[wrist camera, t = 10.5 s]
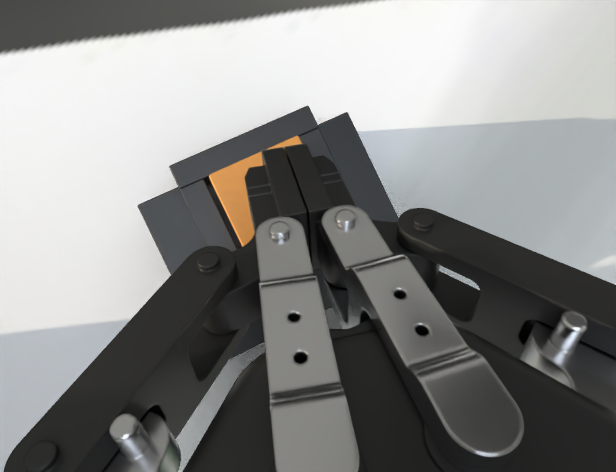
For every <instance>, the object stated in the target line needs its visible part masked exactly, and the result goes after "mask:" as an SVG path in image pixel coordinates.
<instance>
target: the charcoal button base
mask: <svg viewBox="0 0 616 472" xmlns="http://www.w3.org/2000/svg"><path fill="white" fill-rule="evenodd" d="M295 136H299V138H300V140H301V142H302V144H303V143H306V144H307V146H308V148H309V151H310V153H311V155H312V157H316V156H322V155H324V156H325V157H327V158H328V159H329V160H331V161H332V162H334V164H335V166H336V168H337V170H338V173H339V174H340V176H341V178H342V181H343V182H344V184H345V186H346V188H347V190H348V192H349V194H350V196H351V198H352V200H353V202H354V204H355V206H356V207H358V208H361V209H362V210H364V211H365V212H366V213H367V214H368V216H369V217H370V219H373V220H377V221H389V222H398V220H399V218H398V216H397V214H396V212H395V210H394V208H393V206H392V204H391V202H390V200H389V198H388V196H387V194H386V191H385V189H384V187H383V185H382V183H381V181H380V179H379V177H378V175H377V173H376V171H375V169H374V166H373V164H372V162H371V160H370V158H369V156H368V154H367V152H366V150H365V148H364V146H363V144H362V141H361V139H360V137H359V135H358V133H357V131H356V129H355V127H354V125H353V123H352V121H351V119H350V116H349V114H348V113H347V112H346V113H344V114H341V115H339V116H337V117H335V118H332V119H330V120H328V121H326V122H323V123H321V124H319V125H317V122H316V120H315V118H314V116H313V114H312V112H311V110H310V108H309V106H306V107H303V108H301V109H299V110H296V111H294V112H292V113H290V114H287V115H285V116H283V117H280V118H278V119H276V120H273V121H271V122H269V123H267V124H264V125H262V126H260V127H257V128H255V129H253V130H251V131H248V132H246V133H244V134H241V135H239V136H237V137H234V138H232V139H230V140H228V141H225V142H223V143H221V144H218V145H216V146H214V147H212V148H209V149H207V150H205V151H202V152H200V153H198V154H196V155H193V156H191V157H189V158H186V159H184V160H182V161H179V162H177V163H175V164H173V165H170V166H169V168H170V170H171V172H172V174H173V176H174V178H175V180H176V183H177V185H178V187H177V188H175V189H173V190H171V191H168V192H166V193H164V194H162V195H159V196H157V197H155V198H153V199H150V200H148V201H146V202H144V203H141V204H139V205H138V208H139V210H140V212H141V214H142V216H143V218H144V220H145V222H146V224H147V227H148V229H149V231H150V233H151V235H152V237H153V239H154V241H155V243H156V245H157V247H158V249H159V251H160V253H161V255H162V257H163V260H164V262H165V264H166V266H167V268H168V270H169V272H170V274H171V275H172V274H173V273H174V272H175V271H176V270H177V268H178V267H179V266H180V265H181V264H182V263H183V262H184V261H185V260H186V258H187V257H188V256H189V255H190V254H192V253H193V252H194V251H196V250H198V249H201V248H203V247H207V246H221V247H225V248H227V249H229V250H230V251H231V252H233V251H235V250H237V249H239V248H241V247H242V245H241V243H240V241H239V239H238V237H237V235H236V232H235V230H234V228H233V226H232V224H231V222H230V220H229V218H228V216H227V214H226V212H225V210H224V208H223V206H222V203H221V201H220V199H219V197H218V195H217V193H216V191H215V189H214V187H213V185H212V183H211V180H210V178H209V175H210V174H212V173H214V172H216V171H219V170H221V169H223V168H225V167H228V166H230V165H232V164H234V163H237V162H239V161H241V160H243V159H246V158H248V157H250V156H252V155H255V154H257V153H259V152H261V150H266V149H268V148H270V147H273V146H275V145H277V144H279V143H281V142H284V141H286V140H288V139H290V138H293V137H295ZM313 273H314V275H316V276H317V279H318V283H319V288H320V292H321V297H322V301H323V305H324V310H327V309H328V308H330V307H332V304H331V302H330V299H329V297H328V295H327V293H326V290H325V288H324V279H323V272H322V269H321V267H320V268H315V269H313ZM262 342H264V331H263V321H262V317H261V318H259V319H257V320H255V321H253V322H251V323H249V328H248V331H247V332H246V334H245V336H244V337H243V339H242V340H241V342H240V343H239V345H238V346H237V348H236V349H235V351H234V352H233V354H232V355H231V357H230V358H229V359H231V358H233V357H235V356H237V355H239V354H241V353H243V352H245V351H247V350H249V349H251V348H252V347H254V346H256V345H258V344H260V343H262Z"/></svg>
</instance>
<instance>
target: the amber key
mask: <svg viewBox="0 0 616 472" xmlns="http://www.w3.org/2000/svg"><path fill="white" fill-rule="evenodd" d="M297 144H302V142H301V140H300V138H299V136H295V137H293V138H290V139H288V140H286V141H284V142H281V143H279V144H277V145H275V146H273V147H270V148H268V149H273V148H279V147H283V148H284V147H285V146H291V145H297ZM262 165H263V162H262V153H261V152H259V153H257V154H255V155H252V156H250V157H248V158H246V159H243V160H241V161H239V162H237V163H234V164H232V165H230V166H228V167H225V168H223V169H221V170H219V171H216V172H214V173H212V174H210V175H209V178H210V180H211V183H212V185H213V187H214V189H215V191H216V193H217V195H218V197H219V199H220V201H221V203H222V206H223V208H224V210H225V212H226V214H227V216H228V218H229V220H230V222H231V224H232V226H233V228H234V230H235V232H236V235H237V237H238V239H239V241H240V243H241V245H242V247H243V246H244V245H246V244H247V243H248V242H249V241H250V240H251V239H252V238H253V236H254V233H255V232H254V227H253V223H252V218H251V213H250V208H249V202H248V196H247V190H246V184H245V178H244V177H245V175H246V173H247V171H248V168H250V167H256V166H262Z"/></svg>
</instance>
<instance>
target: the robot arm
mask: <svg viewBox="0 0 616 472" xmlns="http://www.w3.org/2000/svg"><path fill="white" fill-rule="evenodd" d="M261 153H262V162H263V165H262V166H256V167H250V168H248V171H247V173H246V175H245V177H244V178H245V184H246V190H247V196H248V202H249V208H250V213H251V218H252V223H253V227H254V232H255V233H254V236H253V238H252V239H251V240H250V241H249V242H248V243H247V244H246V245H244V246H243V247H241V248H239V249H237V250H235V251H233V252H231V251H230V250H229V249H227V248H225V247H221V246H207V247H203V248H201V249H198V250H196V251H194V252H193V253H192V254H190V255H189V256H188V257H187V258H186V260H185V261H184V262H183V263H182V264H181V265H180V266H179V267H178V268H177V270H176V271H175V272H174V273H173V274H172V275H171V276H170V277H169V278H168V279H167V281H166V282H165V283H164V284H163V285H162V286H161V287H160V288H159V289H158V290H157V292H156V293H155V294H154V295H153V296H152V297H151V298H150V299H149V300H148V301H147V303H146V304H145V305H144V306H143V307H142V308H141V309H140V310H139V311H138V312H137V314H136V315H135V316H134V317H133V318H132V319H131V320H130V321H129V322H128V324H127V325H126V326H125V327H124V328H123V329H122V330H121V331H120V332H119V333H118V335H117V336H116V337H115V338H114V339H113V340H112V341H111V342H110V343H109V344H108V346H107V347H106V348H105V349H104V350H103V351H102V352H101V353H100V354H99V355H98V357H97V358H96V359H95V360H94V361H93V362H92V363H91V364H90V365H89V366H88V368H87V369H86V370H85V371H84V372H83V373H82V374H81V375H80V376H79V377H78V379H77V380H76V381H75V382H74V383H73V384H72V385H71V386H70V387H69V389H68V390H67V391H66V392H65V393H64V394H63V395H62V396H61V397H60V398H59V400H58V401H57V402H56V403H55V404H54V405H53V406H52V407H51V408H50V409H49V411H48V412H47V413H46V414H45V415H44V416H43V417H42V418H41V419H40V420H39V422H38V423H37V424H36V425H35V426H34V427H33V428H32V429H31V430H30V431H29V433H28V434H27V435H26V436H25V437H24V438H23V439H22V440H21V441H20V443H19V444H18V445H17V446H16V447H15V448H14V450H13V451H12V453H11V454H10V456H9V458H8V460H7V462H6V465H5V468H4V472H177V471H178V469H179V466H180V461H181V452H180V448H179V445H178V443H177V441H176V440H175V439H176V438H177V436H178V435H179V433H180V432H181V430H182V429H183V427H184V426H185V424H186V423H187V421H188V420H189V418H190V417H191V415H192V414H193V412H194V411H195V409H196V408H197V406H198V405H199V403H200V402H201V400H202V399H203V397H204V396H205V394H206V393H207V391H208V390H209V388H210V387H211V385H212V384H213V382H214V381H215V379H216V378H217V376H218V375H219V373H220V372H221V370H222V369H223V367H224V366H225V364H226V363H227V361H228V360H229V358H230V357H231V355H232V354H233V352H234V351H235V349H236V348H237V346H238V345H239V343H240V342H241V340H242V339H243V337H244V336H245V334H246V332H247V331H248V328H249V323H251V322H253V321H255V320H257V319H259V318H261V317H262V321H263V331H264V342H265V353H263V354H262V355H260V356H259V357H257V358H256V359H255V360H254V361H252V362H251V363H250V364H249V365H248V366H247V367H246V368H245V369H244V370H243V372H242V373H241V374H240V375H239V377H238V378H237V380H236V381H235V383H234V385H233V386H232V388H231V390H230V391H229V393H228V395H227V397H226V398H225V400H224V402H223V403H222V405H221V407H220V409H219V410H218V412H217V414H216V415H215V417H214V419H213V421H212V422H211V424H210V426H209V427H208V429H207V431H206V433H205V434H204V436H203V438H202V439H201V441H200V443H199V445H198V446H197V448H196V450H195V451H194V453H193V455H192V457H191V458H190V460H189V462H188V463H187V465H186V467H185V469H184V470H183V472H616V285H614V284H612V283H609V282H607V281H604V280H602V279H600V278H597V277H595V276H592V275H590V274H587V273H585V272H582V271H580V270H578V269H575V268H573V267H570V266H568V265H565V264H563V263H560V262H558V261H556V260H553V259H551V258H548V257H546V256H543V255H541V254H538V253H536V252H534V251H531V250H529V249H526V248H524V247H521V246H519V245H516V244H514V243H512V242H509V241H507V240H504V239H502V238H499V237H497V236H494V235H492V234H490V233H487V232H485V231H482V230H480V229H477V228H475V227H473V226H470V225H468V224H465V223H463V222H460V221H458V220H455V219H453V218H451V217H448V216H446V215H443V214H441V213H438V212H436V211H433V210H430V209H425V208H415V209H410V210H407V211H406V212H404V213H403V214H401V216H400V217H399V220H398V222H389V221H377V220H373V219H370V217H369V216H368V214H367V213H366V212H365V211H364V210H362V209H361V208H358V207H356V206H355V204H354V202H353V200H352V198H351V196H350V194H349V192H348V190H347V188H346V186H345V184H344V182H343V181H342V178H341V176H340V174H339V173H338V170H337V168H336V166H335V164H334V162H332V161H331V160H329V159H328V158H327V157H325V156H324V155H322V156H316V157H312V155H311V153H310V151H309V148H308V146H307V144H306V143H303V144H297V145H291V146H285V147H284V148H283V147H279V148H273V149H266V150H261ZM440 265H441V266H443V267H445V268H447V269H449V270H452V271H454V272H456V273H458V274H460V275H462V276H464V277H467V278H469V279H471V280H472V281H474V282H475V283H476V284H477V285H478V286H479V288H480V290H477V289H475V288H473V287H471V286H469V285H467V284H465V283H463V282H461V281H459V280H457V279H454V278H452V277H450V276H448V275H446V274H444V273H442V272H440V271H439V266H440ZM320 267H321V269H322V272H323V279H324V288H325V290H326V293H327V295H328V297H329V299H330V302H331V304H332V306H333V308H334V310H335V313H336V315H337V317H338V319H339V322H340V324H341V326H342V328H343V329H329V327H328V323H327V319H326V314H325V310H324V305H323V301H322V297H321V292H320V288H319V283H318V279H317V276H316V275H314V273H313V269H315V268H320Z"/></svg>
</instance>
